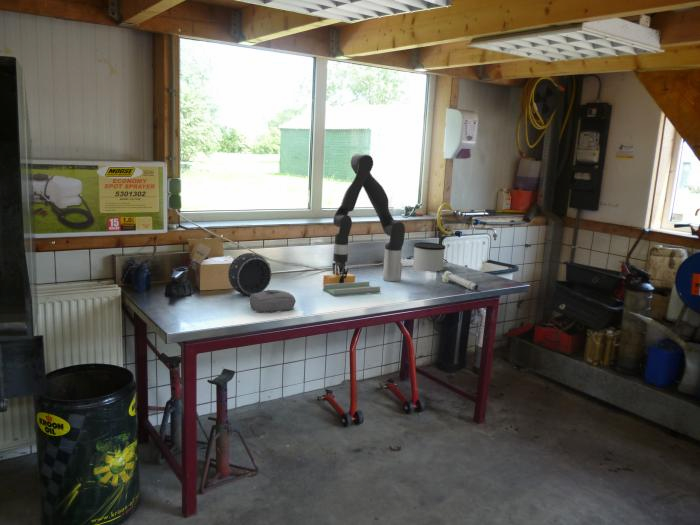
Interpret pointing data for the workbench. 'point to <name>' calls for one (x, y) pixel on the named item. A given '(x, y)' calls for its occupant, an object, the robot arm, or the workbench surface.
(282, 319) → the workbench surface
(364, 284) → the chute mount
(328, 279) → the chute
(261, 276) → the dark patterned drum
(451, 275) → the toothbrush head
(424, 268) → the container
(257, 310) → the soft grey pack
